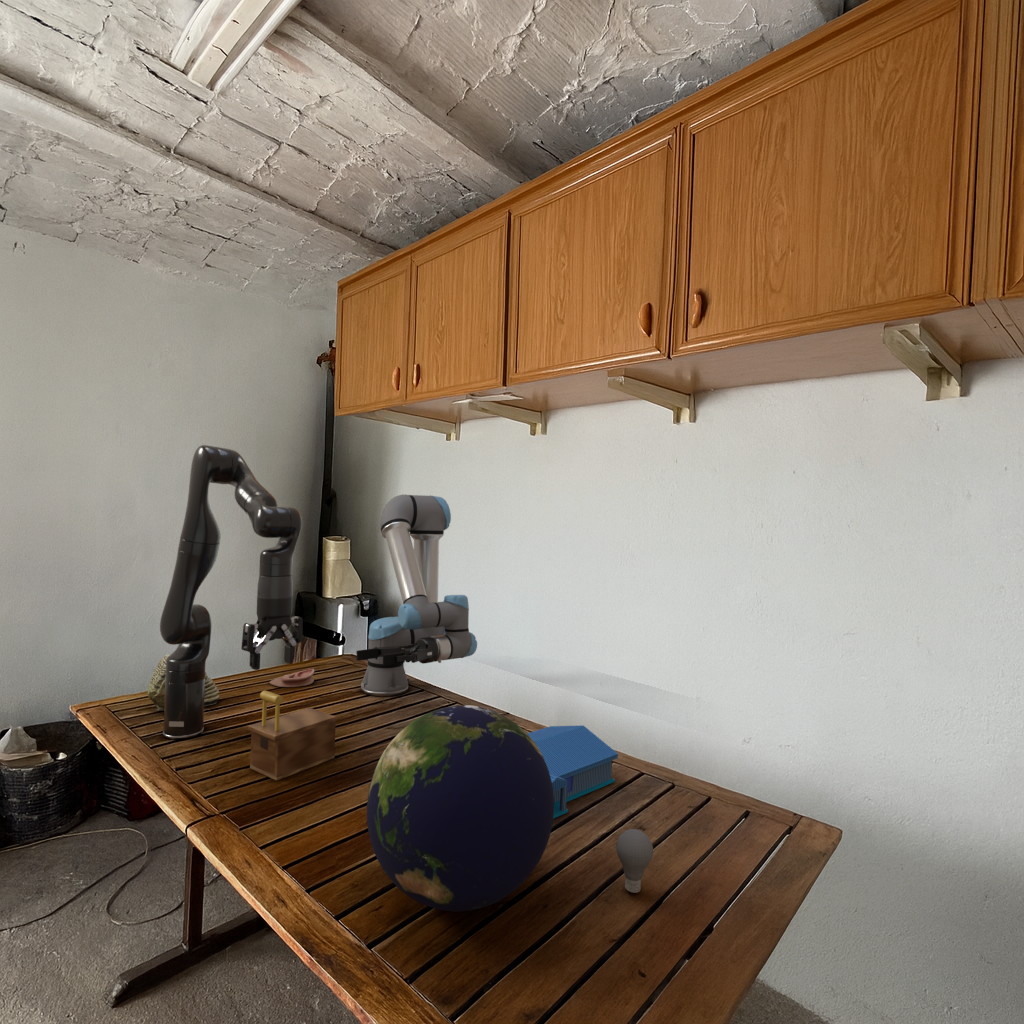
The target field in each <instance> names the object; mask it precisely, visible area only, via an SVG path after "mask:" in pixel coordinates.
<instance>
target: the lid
mask: <svg viewBox="0 0 1024 1024" xmlns="http://www.w3.org/2000/svg"><path fill="white" fill-rule="evenodd" d="M259 698H260V700H262V711H261V721H259V722H255V723H252V724H249V725H247V730H248V731H249V732H251V731H252V732H254V733H257V734H259V735H262V736H264V737H267V738H269V739H272V740H274V741H276V740H279V739H282V738H285V737H288V736H291V735H294V734H297V733H300V732H303V731H306V730H309V729H312V728H315V727H318V726H321V725H324V724H327V723H330V722H333V721H336V720H337V717H336V716H335V715H333V714H332V715H331V714H330V713H327V712H323V711H320V710H318V709H314V708H313V707H306V708H303V709H300V710H295V711H293V712H290V713H286V714H283V715H281V704H282V703H283V701H284V697H283V696H282V695H280V694H277V693H275V692H271V691H268V690H262V691H261V692H260V694H259ZM268 702H269V703H271V704H274V706H275V709H274V710H275V711H274V713H275V714H274V717H273V718H269V719H267V711H268V710H267V708H268Z"/></svg>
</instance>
